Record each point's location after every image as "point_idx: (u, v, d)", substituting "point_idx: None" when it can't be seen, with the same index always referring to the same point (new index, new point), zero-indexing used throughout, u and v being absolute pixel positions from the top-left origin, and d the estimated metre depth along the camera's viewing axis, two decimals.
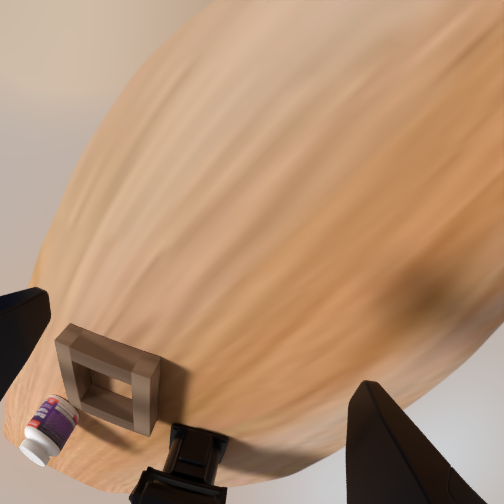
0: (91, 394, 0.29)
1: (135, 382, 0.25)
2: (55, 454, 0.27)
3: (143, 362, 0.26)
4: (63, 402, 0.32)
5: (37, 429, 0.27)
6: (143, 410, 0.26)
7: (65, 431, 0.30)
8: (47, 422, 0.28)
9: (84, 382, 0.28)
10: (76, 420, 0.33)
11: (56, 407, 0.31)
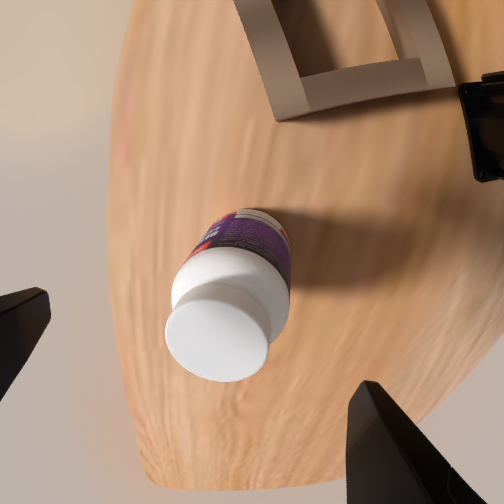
0: None
1: None
2: (282, 311, 0.13)
3: None
4: (245, 210, 0.19)
5: (209, 249, 0.13)
6: (417, 4, 0.11)
7: (280, 249, 0.16)
8: (230, 233, 0.15)
9: None
10: (288, 243, 0.19)
11: (237, 216, 0.18)
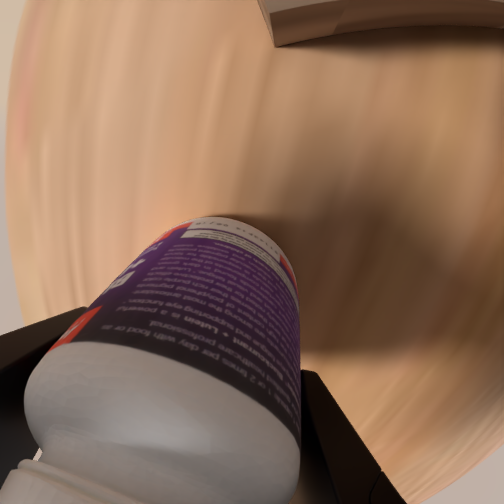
0: None
1: None
2: (280, 501, 0.04)
3: None
4: (210, 219, 0.09)
5: (77, 343, 0.04)
6: None
7: (280, 320, 0.06)
8: (150, 287, 0.06)
9: None
10: (295, 285, 0.09)
11: (187, 234, 0.08)
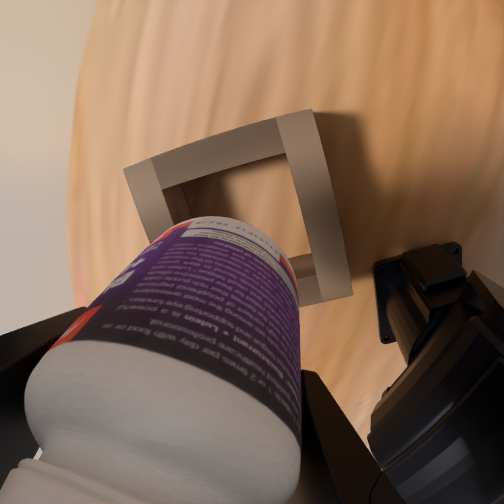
0: None
1: (290, 139, 0.14)
2: (281, 499, 0.04)
3: None
4: (210, 218, 0.09)
5: (77, 341, 0.04)
6: (325, 214, 0.15)
7: (281, 319, 0.06)
8: (150, 286, 0.06)
9: None
10: (295, 284, 0.09)
11: (187, 234, 0.08)
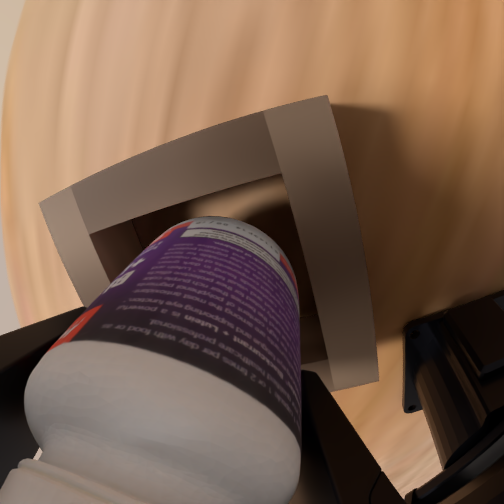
0: None
1: (289, 149, 0.08)
2: (281, 500, 0.04)
3: None
4: (210, 218, 0.09)
5: (77, 342, 0.04)
6: (346, 275, 0.09)
7: (280, 318, 0.06)
8: (150, 286, 0.06)
9: None
10: (295, 284, 0.09)
11: (187, 234, 0.08)
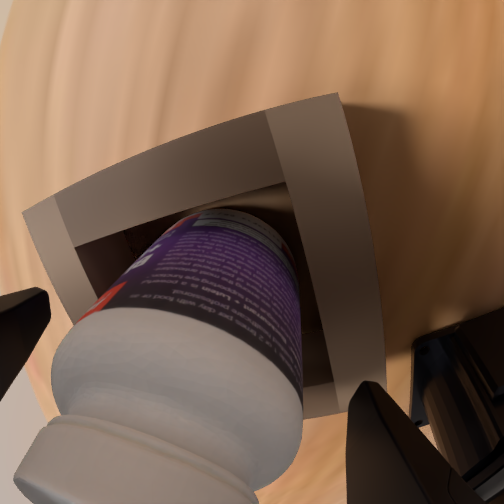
0: None
1: (295, 154, 0.07)
2: (286, 454, 0.05)
3: None
4: (218, 210, 0.10)
5: (108, 310, 0.05)
6: (356, 295, 0.08)
7: (283, 295, 0.07)
8: (170, 265, 0.06)
9: None
10: (295, 270, 0.10)
11: (198, 223, 0.09)
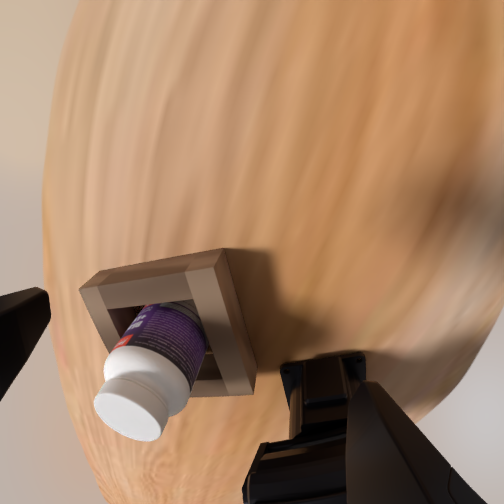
0: None
1: (196, 289, 0.18)
2: (180, 397, 0.16)
3: (200, 259, 0.19)
4: None
5: (128, 346, 0.16)
6: (226, 343, 0.19)
7: (191, 341, 0.18)
8: (148, 329, 0.17)
9: None
10: None
11: (162, 304, 0.20)
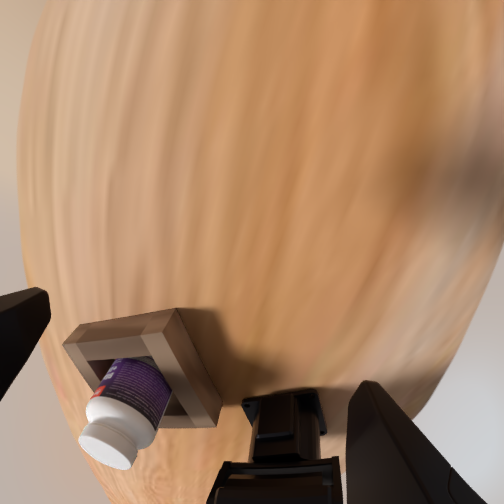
0: None
1: (152, 348, 0.20)
2: (145, 436, 0.18)
3: (155, 321, 0.21)
4: None
5: (101, 396, 0.18)
6: (184, 388, 0.21)
7: (153, 389, 0.20)
8: (117, 381, 0.20)
9: None
10: None
11: None
